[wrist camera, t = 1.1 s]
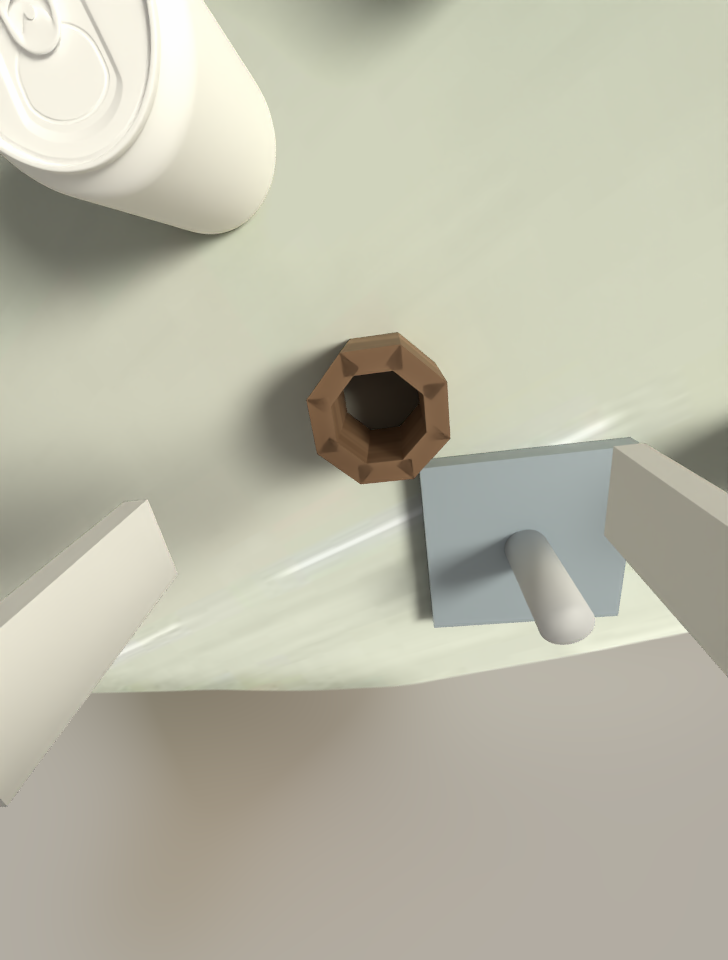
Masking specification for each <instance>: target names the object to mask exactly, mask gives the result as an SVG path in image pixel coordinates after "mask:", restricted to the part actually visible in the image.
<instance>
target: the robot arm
mask: <svg viewBox="0 0 728 960" xmlns="http://www.w3.org/2000/svg"><path fill="white" fill-rule="evenodd" d="M604 536H605V537H606V538H607V539H608V541H609V542H610V543H611V544H612V545H613V546H614V547H615V549H616V550H617V551H618V552H619V553H620V554H621V555H622V557H623V558H624V559H625V560H626V561H627V562H628V563H629V565H630V566H631V567H632V568H633V569H634V570H635V571H636V573H637V574H638V575H639V576H640V577H641V578H642V579H643V581H644V582H645V583H646V584H647V585H648V586H649V587H650V589H651V590H652V591H653V592H654V593H655V594H656V595H657V597H658V598H659V599H660V600H661V601H662V602H663V603H664V605H665V606H666V607H667V608H668V609H669V610H670V611H671V613H672V614H673V615H674V616H675V617H676V618H677V620H678V621H679V622H680V623H681V624H682V625H683V626H684V628H685V629H686V630H687V631H688V632H689V633H690V634H691V636H692V637H693V638H694V639H695V640H696V641H697V642H698V644H699V645H700V646H701V647H702V648H703V649H704V650H705V651H706V653H707V654H708V655H709V656H710V657H711V658H712V659H713V661H714V662H715V663H716V664H717V665H718V666H719V668H721V670H722V671H723V672H724V673H725V674H726V676H728V493H727V492H725V491H724V490H722V489H720V488H719V487H717V486H715V485H714V484H712V483H710V482H709V481H707V480H705V479H704V478H702V477H700V476H699V475H697V474H695V473H694V472H692V471H690V470H689V469H687V468H686V467H684V466H682V465H681V464H679V463H677V462H676V461H674V460H672V459H671V458H669V457H667V456H666V455H664V454H662V453H661V452H659V451H657V450H656V449H654V448H652V447H651V446H649V445H647V444H646V443H638V444H629V445H620V446H613V455H612V465H611V474H610V483H609V493H608V502H607V511H606V521H605V530H604ZM177 575H178V572H177V570H176V568H175V565H174V563H173V560H172V558H171V555H170V553H169V550H168V548H167V545H166V543H165V541H164V538H163V536H162V533H161V531H160V528H159V526H158V523H157V521H156V519H155V516H154V514H153V511H152V509H151V506H150V504H149V501H148V499H144V500H135V501H126V502H123V503H122V504H120V505H119V506H118V507H117V508H115V509H114V510H113V511H112V512H110V513H109V514H108V515H107V516H106V517H104V518H103V519H102V520H101V521H99V522H98V523H97V524H96V525H94V526H93V527H92V528H91V529H89V530H88V531H87V532H86V533H84V534H83V535H82V536H81V537H80V538H78V539H77V540H76V541H75V542H73V543H72V544H71V545H70V546H68V547H67V548H66V549H65V550H63V551H62V552H61V553H60V554H58V555H57V556H56V557H55V558H54V559H52V560H51V561H50V562H49V563H47V564H46V565H45V566H44V567H42V568H41V569H40V570H39V571H37V572H36V573H35V574H34V575H32V576H31V577H30V578H29V579H27V580H26V581H25V582H24V583H23V584H21V585H20V586H19V587H18V588H16V589H15V590H14V591H13V592H11V593H10V594H9V595H8V596H6V597H5V598H4V599H3V600H1V601H0V807H6V806H8V805H9V804H10V802H11V801H12V800H13V798H14V797H15V796H16V794H17V793H18V791H19V790H20V789H21V787H22V786H23V785H24V783H25V782H26V781H27V779H28V778H29V777H30V775H31V774H32V772H33V771H34V770H35V768H36V767H37V766H38V764H39V763H40V762H41V760H42V759H43V757H44V756H45V755H46V753H47V752H48V750H49V749H50V748H51V747H52V745H53V744H54V743H55V741H56V740H57V738H58V737H59V736H60V734H61V733H62V732H63V730H64V729H65V728H66V726H67V725H68V723H69V722H70V720H71V719H72V718H73V717H74V715H75V714H76V713H77V711H78V710H79V708H80V707H81V706H82V704H83V703H84V702H85V700H86V699H87V697H88V696H89V695H90V694H91V692H92V691H93V689H94V688H95V687H96V685H97V684H98V683H99V681H100V680H101V679H102V677H103V676H104V674H105V673H106V672H107V670H108V669H109V668H110V666H111V665H112V664H113V662H114V661H115V659H116V658H117V657H118V655H119V654H120V653H121V651H122V650H123V649H124V647H125V646H126V645H127V643H128V642H129V640H130V639H131V638H132V636H133V635H134V634H135V632H136V631H137V630H138V628H139V627H140V625H141V624H142V623H143V621H144V620H145V619H146V617H147V616H148V615H149V613H150V612H151V610H152V609H153V608H154V606H155V605H156V604H157V602H158V601H159V600H160V598H161V597H162V596H163V594H164V593H165V591H166V590H167V589H168V587H169V586H170V585H171V583H172V582H173V581H174V579H175V578H176V576H177Z"/></svg>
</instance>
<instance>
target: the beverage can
mask: <svg viewBox="0 0 728 960" xmlns="http://www.w3.org/2000/svg"><path fill="white" fill-rule="evenodd" d="M0 154H1V155H2V156H4V157H5V158H6V159H7V160H8V161H9V162H10V163H12V164H13V165H14V166H15V167H17V168H18V169H19V170H20V171H22V172H23V173H25V174H26V175H28V176H29V177H31V178H32V179H34V180H35V181H37V182H39V183H41V184H42V185H44V186H46V187H48V188H50V189H52V190H54V191H57V192H59V193H62V194H65V195H68V196H71V197H74V198H78V199H81V200H84V201H88V202H91V203H95V204H98V205H102V206H105V207H109V208H112V209H116V210H119V211H122V212H126V213H129V214H133V215H136V216H140V217H143V218H147V219H150V220H154V221H157V222H161V223H164V224H167V225H171V226H174V227H178V228H181V229H185V230H188V231H192V232H196V233H201V234H219V233H224V232H228V231H231V230H233V229H235V228H237V227H239V226H241V225H242V224H244V223H245V222H246V221H248V220H249V219H250V218H251V217H252V216H253V215H254V214H255V213H256V212H257V210H258V209H259V208H260V206H261V205H262V203H263V201H264V200H265V198H266V196H267V193H268V191H269V189H270V186H271V182H272V179H273V175H274V169H275V161H276V142H275V133H274V127H273V123H272V118H271V115H270V112H269V109H268V106H267V103H266V101H265V99H264V97H263V94H262V92H261V91H260V89H259V87H258V85H257V84H256V82H255V80H254V79H253V77H252V76H251V74H250V72H249V71H248V69H247V68H246V66H245V65H244V63H243V62H242V60H241V58H240V57H239V55H238V54H237V52H236V51H235V49H234V48H233V46H232V44H231V43H230V41H229V40H228V38H227V37H226V35H225V34H224V32H223V30H222V29H221V27H220V26H219V24H218V23H217V21H216V20H215V18H214V16H213V15H212V13H211V12H210V10H209V9H208V7H207V6H206V4H205V2H204V1H203V0H0Z"/></svg>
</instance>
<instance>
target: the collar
mask: <svg viewBox="0 0 728 960" xmlns="http://www.w3.org/2000/svg"><path fill="white" fill-rule="evenodd" d="M386 371H394V372H395V373H397V374H398V375H399V376H400V377H402V378H403V379H404V380H405V381H407V382H408V383H409V384H410V385H412V386H413V387H414V388H415V389H417V390H418V397H419V404H418V405H417V407H416V408H415V409H414V410H413V411H412V413H411V414H410V415H409V416H408V417H407V419H406V420H405V421H404V422H403V423H402V425H401V426H399V427H391V428H382V429H374V430H370V429H369V428H368V427H366V426H365V425H364V424H362V423H361V422H360V421H358V420H357V419H355V418H354V417H353V416H351V415H350V414H349V413H347V408H346V402H345V396H344V388H345V387H346V385H347V384H348V383H349V381H350V380H351V379H352V377H353V376H356V375H364V374H371V373H379V372H386ZM306 401H307V406H308V411H309V416H310V421H311V426H312V431H313V436H314V441H315V446H316V451H317V454H318V455H320V456H321V457H323V458H324V459H325V460H327V461H328V462H330V463H331V464H333V465H334V466H335V467H337V468H338V469H340V470H341V471H343V472H344V473H345V474H347V475H348V476H350V477H351V478H352V479H354V480H355V481H357V482H358V483H360V484H368V483H378V482H387V481H397V480H407V479H414V478H415V477H416V476H417V475H418V474H419V472H420V471H421V470H422V469H423V468H424V467H425V466H426V465H427V464H428V463H429V461H430V460H431V459H432V458H433V457H434V456H435V455H436V454H437V453H438V452H439V450H440V449H441V448H442V447H443V446H444V445H445V444H446V443H447V442H448V440H449V439H450V425H449V407H448V390H447V381H446V379H445V378H444V376H443V375H442V373H441V371H440V370H439V368H438V367H437V365H436V364H435V362H434V361H432V360H431V359H430V358H429V357H427V356H426V355H425V354H424V353H423V352H421V351H420V350H419V349H418V348H416V347H415V346H414V345H413V344H412V343H410V342H409V341H408V340H407V339H406V338H404V337H403V336H402V335H401V334H399V333H398V332H396V333H389V334H382V335H375V336H368V337H361V338H354V339H350V340H349V341H348V342H347V344H346V345H345V346H344V348H343V349H342V350H341V352H340V353H339V355H338V356H337V357H336V359H335V360H334V362H333V363H332V364H331V366H330V367H329V369H328V370H327V372H326V373H325V374H324V376H323V377H322V379H321V380H320V382H319V383H318V384H317V386H316V387H315V389H314V390H313V391H312V393H311V394H310V396H309V397H308V398H307V400H306Z"/></svg>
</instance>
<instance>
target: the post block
mask: <svg viewBox="0 0 728 960" xmlns="http://www.w3.org/2000/svg"><path fill="white" fill-rule="evenodd" d="M638 443H639V442H637V441H636V440H634V439H632V438H631V437H627V438H618V439H609V440H600V441H590V442H581V443H572V444H563V445H554V446H544V447H535V448H526V449H517V450H508V451H499V452H489V453H480V454H471V455H462V456H453V457H444V458H434V459H431V460H430V461H429V463H428V464H427V465H426V466H425V467H424V468H423V469H422V470H421V471H420V472H419V475H420V486H421V496H422V507H423V518H424V529H425V539H426V550H427V561H428V572H429V583H430V593H431V604H432V615H433V622H434V628H438V627H453V626H468V625H483V624H499V623H514V622H529V621H535V623H536V625H537V627H538V630H539V632H540V634H541V636H542V637H543V638H544V639H545V640H547V641H549V642H551V643H554V644H560V645H565V644H572V643H575V642H578V641H580V640H582V639H584V638H585V637H587V636H588V635H589V634H590V633H591V631H592V630H593V628H594V626H595V617H605V616H618V611H619V604H620V597H621V591H622V584H623V577H624V570H625V563H626V560H625V559H624V558H623V557H622V555H621V554H620V553H619V552H618V551H617V550H616V549H615V547H614V546H613V545H612V544H611V543H610V542H609V541H608V539H607V538H606V537H605V536H604V530H605V521H606V511H607V502H608V493H609V483H610V474H611V465H612V455H613V446H620V445H629V444H638Z"/></svg>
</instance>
